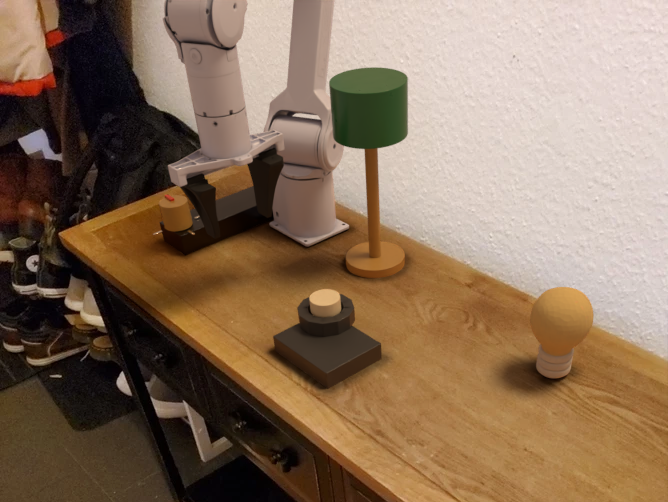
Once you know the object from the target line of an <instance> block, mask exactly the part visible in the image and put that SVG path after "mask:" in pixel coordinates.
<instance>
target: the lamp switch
mask: <svg viewBox="0 0 668 502" xmlns="http://www.w3.org/2000/svg"><path fill="white" fill-rule="evenodd" d="M340 294H341V293H340V292H338V291H337V290H335V289H330V288H324V289H318V290H315V291H313V292H312V293H311V294H310V295H309V296H308V297H309V301H310V310H311V313H312V315H313V316H315V317H321V318H325V317H332V316H335V315H337V314H339V313H340V311H341V299H340Z"/></svg>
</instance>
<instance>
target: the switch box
mask: <svg viewBox="0 0 668 502" xmlns="http://www.w3.org/2000/svg"><path fill="white" fill-rule="evenodd" d="M339 294H340V299H341V311H340V313H339V314H337V315H335V316H332V317H325V318H321V317H315V316H313V315H312V313H311V310H310V301H309V297H310V296H308V297H306V298H303V300H302V301H301V302H300V303H299V304H298V306H297V308H296V310H297V316H298V317H297V318H298V323H296V324H294V325H292V326H291V327H288V328H286V329H284V330H282V331H280V332H279V333H276V334H274V335H273V336H272V340H273V345H274V351H275V352H276V353H277V354H278V355H280V356H281V357H283V358H284V359H286V360H287V361H288V362H289V363H291V364H293V365H294V366H295V367H297V368H298V369H299V370H301V371H302V372H304V373H305V374H306V375H308V376H309V377H311V378H312V379H313V380H315V381H316V382H317V383H319V384H320V385H322V386H323V387H324V388H326V389H328V390H329V389H331V388H333V387H334V386H336V385H338V384H340V383H342V382H343V381H345V380H346V379H348V378H351V377H353V376H354V375H355V374H357V373H359V372H361V371H363V370H364V369H366V368H368V367H370V366H372V365H373V364H375V363H377V362H379V361H380V360H382V356H383V355H382V343H381V342H380V341H378V340H377V339H375V338H373V337H371V336H370V335H368V334H367V333H365V332H363V331H361V330H360V329H359V328H357V327H355V326H354V325H353V324H354V323H355V321H356V313H355V305H354V303H353V300H352V299H351V298H350V297H348V296H346V295H344V294H342V293H339Z"/></svg>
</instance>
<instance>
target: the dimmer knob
mask: <svg viewBox="0 0 668 502" xmlns="http://www.w3.org/2000/svg"><path fill="white" fill-rule="evenodd" d="M158 207H159V211H160V214H161V219H162V221H163V223H164V227H165V229H166V230H168V231H182V230H186V229H188V228H190V227H191V226H192V224H193V221H192V217H191V212H190V210H191V208H190V204H189V198H188V197H187V196H186V195H181V194H173V195H172V194H171V195H170V194H164V197H163V198H161V199H160V200H159V201H158Z"/></svg>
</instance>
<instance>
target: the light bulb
mask: <svg viewBox="0 0 668 502" xmlns="http://www.w3.org/2000/svg"><path fill="white" fill-rule="evenodd" d="M529 324H530V329H531V332H532V334H533V336H534V337H535V339H536V340H537V342H538V343H539V346H538V352H537V357H536V364H535V367H536V368H535V369H536V370H537V372H538V373H539V374H540V375H542V376H544V377H546V378H549V379H560V378H563V377H565V376H567V375H568V374H570V372H571V369H572V364H573V357H574V353H575V349H574V348H575V347H577V346H578V345H580V344H581V343H582V342H583V341H584V340H585V339H586V338H587V337H588V335H589V334H590V331H591V329H592V327H593V324H594V308H593V305H592V303H591V301H590V299H589V298H588V296H587V295H586V294H585V293H584V292H583V291H581V290H579V289H577V288H574V287H570V286H557V287H552V288H549V289H547V290H544V292H542V293H541V294H540V295H539V296H538V297H537V299H536V300H535V302H534V303H533V305H532V308H531V311H530V316H529Z"/></svg>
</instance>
